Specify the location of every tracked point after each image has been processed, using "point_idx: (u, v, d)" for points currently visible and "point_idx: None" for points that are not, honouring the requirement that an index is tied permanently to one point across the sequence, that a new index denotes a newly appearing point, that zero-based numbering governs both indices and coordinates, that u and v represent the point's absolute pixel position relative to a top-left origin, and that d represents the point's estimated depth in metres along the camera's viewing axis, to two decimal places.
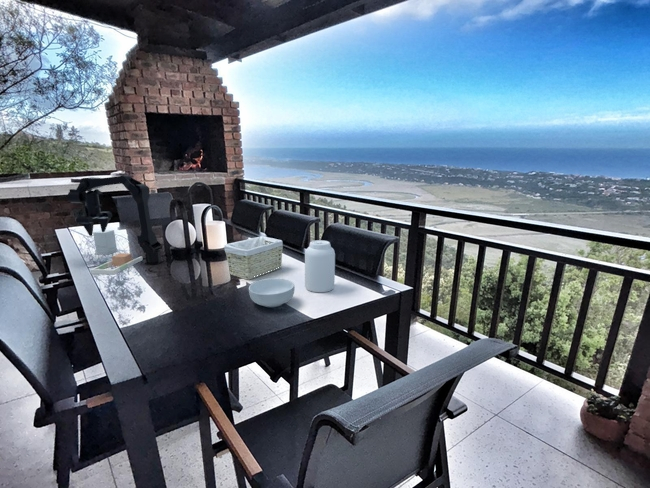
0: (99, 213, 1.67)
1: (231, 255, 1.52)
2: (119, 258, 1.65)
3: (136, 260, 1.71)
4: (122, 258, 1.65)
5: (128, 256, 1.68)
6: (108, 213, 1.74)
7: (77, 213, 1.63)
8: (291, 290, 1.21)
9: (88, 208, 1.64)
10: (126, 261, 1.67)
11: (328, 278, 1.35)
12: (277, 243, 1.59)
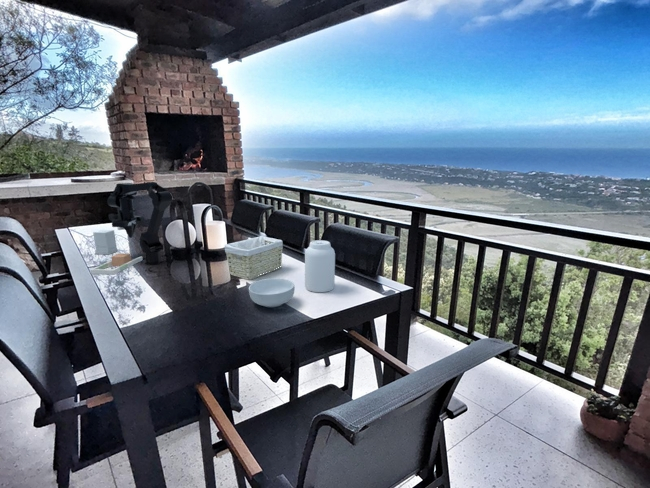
0: (133, 217, 1.72)
1: (231, 255, 1.52)
2: (118, 258, 1.65)
3: (136, 260, 1.71)
4: (121, 258, 1.65)
5: (127, 256, 1.68)
6: (141, 217, 1.79)
7: (113, 217, 1.68)
8: (291, 290, 1.21)
9: (123, 213, 1.69)
10: (125, 261, 1.67)
11: (328, 278, 1.35)
12: (277, 243, 1.59)
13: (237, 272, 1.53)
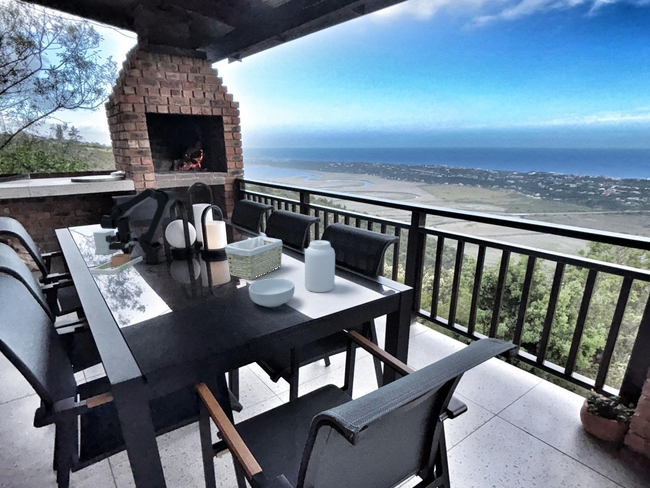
0: (130, 239, 1.70)
1: (232, 256, 1.51)
2: (118, 258, 1.65)
3: (136, 260, 1.71)
4: (121, 258, 1.64)
5: (127, 256, 1.68)
6: (138, 238, 1.77)
7: (109, 239, 1.66)
8: (291, 290, 1.21)
9: (120, 235, 1.67)
10: (125, 261, 1.66)
11: (328, 278, 1.35)
12: (277, 243, 1.60)
13: (238, 272, 1.52)
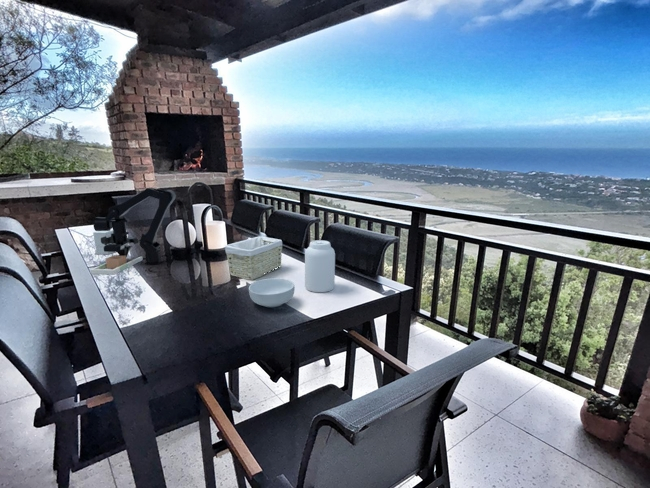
0: (126, 240, 1.67)
1: (232, 256, 1.51)
2: (113, 260, 1.61)
3: (136, 260, 1.71)
4: (116, 260, 1.61)
5: (122, 258, 1.64)
6: (134, 239, 1.74)
7: (105, 241, 1.63)
8: (291, 290, 1.21)
9: (115, 236, 1.64)
10: (120, 263, 1.63)
11: (328, 278, 1.35)
12: (277, 243, 1.60)
13: (238, 272, 1.52)
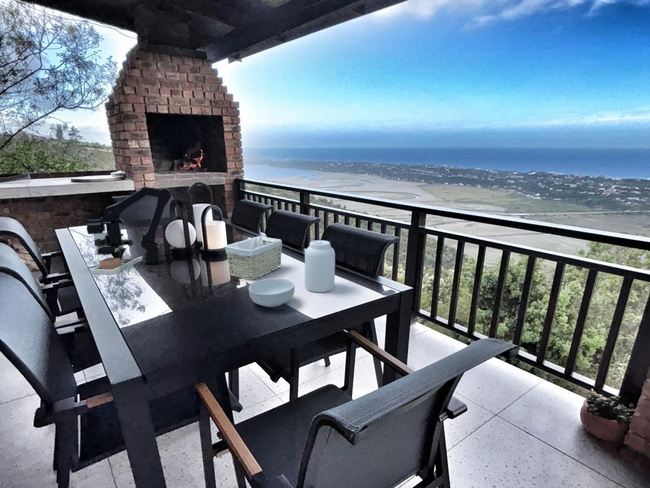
0: (121, 242, 1.63)
1: (233, 256, 1.51)
2: (107, 263, 1.57)
3: (136, 260, 1.71)
4: (110, 263, 1.57)
5: (117, 261, 1.60)
6: (129, 241, 1.69)
7: (98, 243, 1.59)
8: (291, 290, 1.21)
9: (109, 238, 1.59)
10: (114, 266, 1.59)
11: (328, 278, 1.35)
12: (277, 242, 1.60)
13: (239, 273, 1.52)
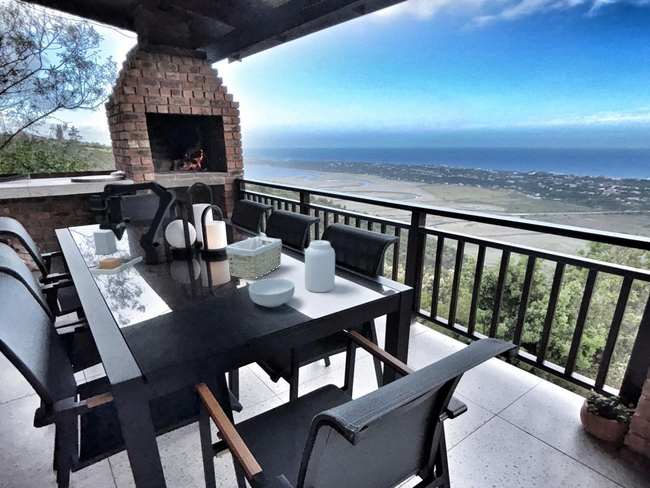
0: (122, 219, 1.64)
1: (234, 256, 1.50)
2: (107, 263, 1.57)
3: (136, 260, 1.71)
4: (110, 263, 1.57)
5: (117, 261, 1.60)
6: (130, 219, 1.71)
7: (100, 220, 1.60)
8: (291, 290, 1.21)
9: (111, 215, 1.61)
10: (114, 266, 1.59)
11: (328, 278, 1.35)
12: (277, 242, 1.60)
13: (240, 273, 1.51)
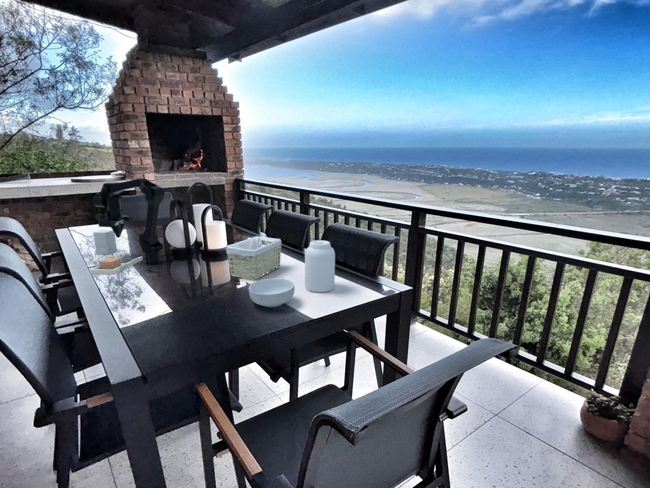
0: (120, 217, 1.71)
1: (234, 256, 1.50)
2: (107, 263, 1.57)
3: (136, 260, 1.71)
4: (110, 263, 1.57)
5: (117, 261, 1.60)
6: (128, 217, 1.78)
7: (100, 217, 1.67)
8: (291, 290, 1.21)
9: (110, 213, 1.68)
10: (114, 266, 1.59)
11: (328, 278, 1.35)
12: (277, 242, 1.61)
13: (240, 273, 1.51)
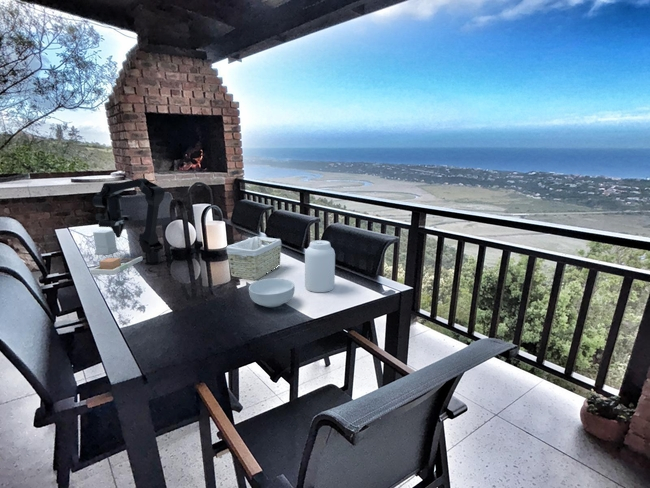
0: (120, 217, 1.71)
1: (234, 256, 1.50)
2: (107, 263, 1.57)
3: (136, 260, 1.71)
4: (110, 263, 1.57)
5: (117, 261, 1.60)
6: (128, 217, 1.78)
7: (100, 217, 1.67)
8: (291, 290, 1.21)
9: (110, 213, 1.68)
10: (114, 266, 1.59)
11: (328, 278, 1.35)
12: (277, 242, 1.61)
13: (241, 273, 1.51)
